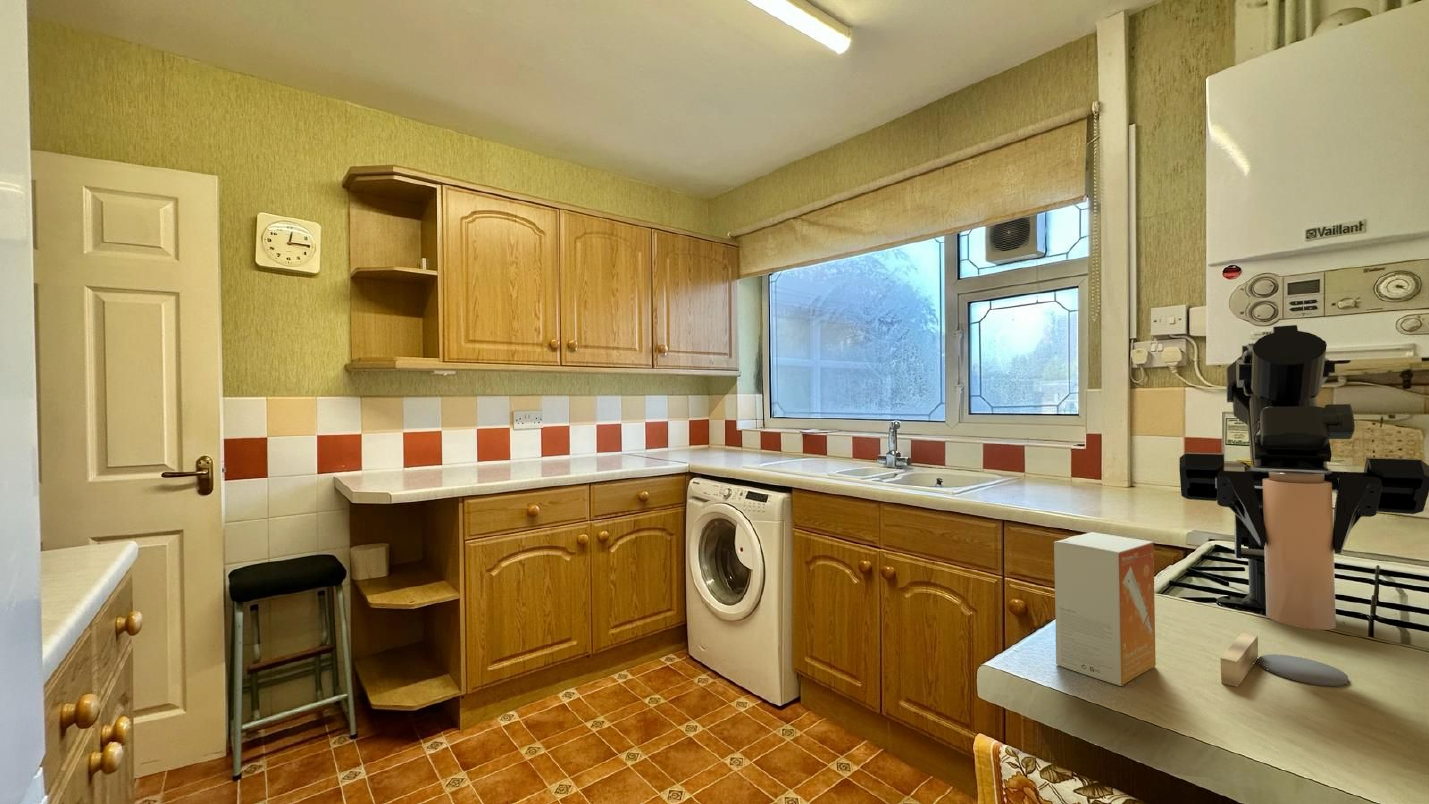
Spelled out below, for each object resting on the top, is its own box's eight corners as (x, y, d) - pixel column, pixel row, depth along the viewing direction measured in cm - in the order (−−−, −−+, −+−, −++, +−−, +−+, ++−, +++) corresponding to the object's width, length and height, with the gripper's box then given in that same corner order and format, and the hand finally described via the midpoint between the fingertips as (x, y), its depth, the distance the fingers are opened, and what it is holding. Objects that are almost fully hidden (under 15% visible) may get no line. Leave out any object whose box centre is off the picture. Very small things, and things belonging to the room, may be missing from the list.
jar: (1260, 608, 63) (1256, 469, 63) (1325, 616, 61) (1321, 471, 61) (1273, 624, 59) (1269, 474, 59) (1344, 632, 56) (1340, 477, 57)
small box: (1122, 688, 57) (1119, 552, 57) (1054, 665, 62) (1051, 540, 62) (1158, 667, 61) (1155, 540, 61) (1091, 647, 67) (1089, 530, 67)
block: (1243, 654, 64) (1242, 632, 64) (1258, 658, 63) (1257, 635, 63) (1221, 682, 58) (1220, 657, 58) (1237, 687, 57) (1236, 661, 57)
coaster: (1264, 653, 64) (1264, 649, 64) (1351, 672, 59) (1351, 668, 59) (1252, 670, 60) (1252, 666, 60) (1344, 692, 55) (1344, 688, 55)
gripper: (1177, 383, 69) (1176, 490, 60) (1423, 375, 57) (1465, 507, 49) (1181, 446, 75) (1181, 551, 67) (1405, 451, 63) (1439, 580, 55)
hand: (1299, 547), depth 59 cm, fingers closed on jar, 5 cm apart
